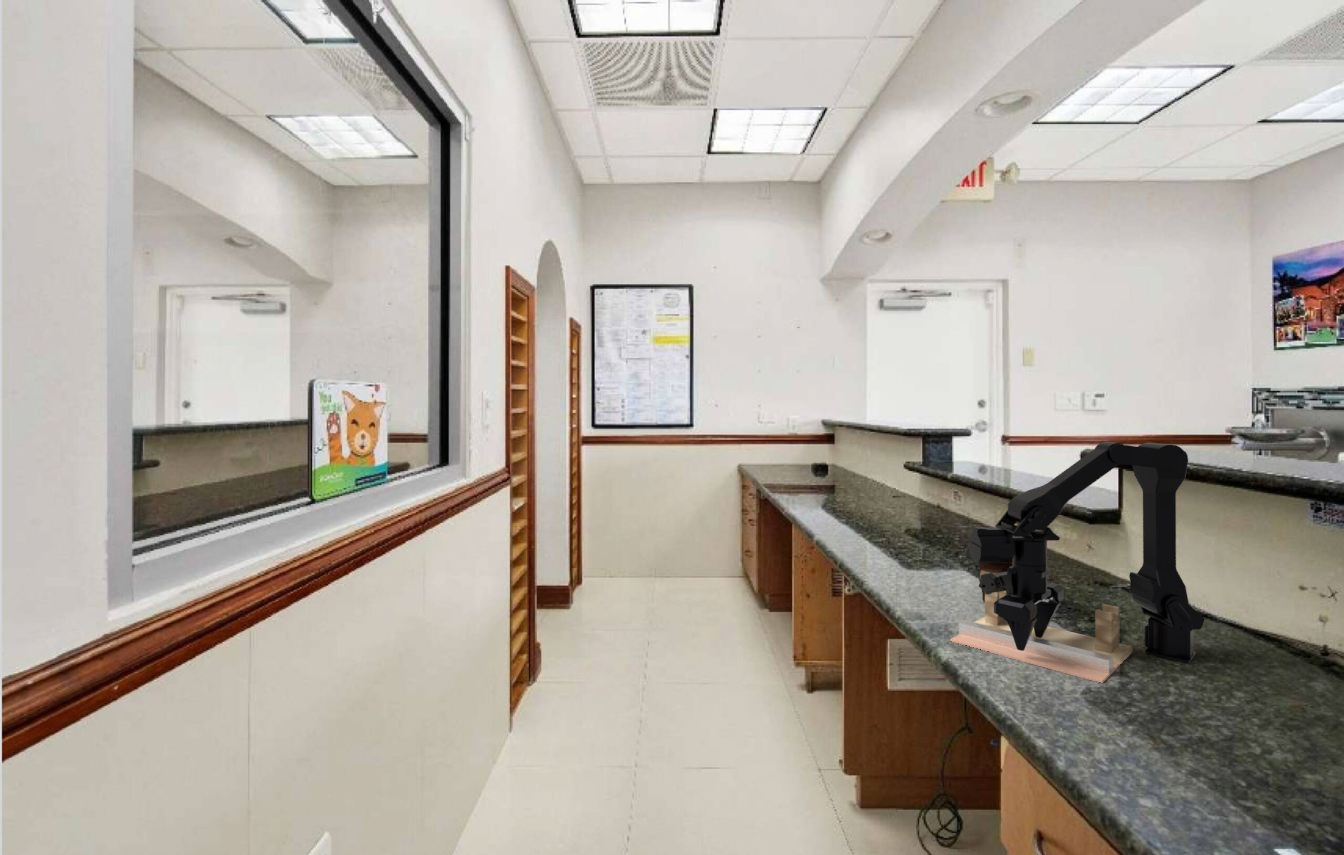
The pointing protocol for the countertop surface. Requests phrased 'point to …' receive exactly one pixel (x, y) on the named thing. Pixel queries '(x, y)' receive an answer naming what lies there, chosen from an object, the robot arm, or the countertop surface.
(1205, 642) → the countertop surface
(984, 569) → the coffee cup
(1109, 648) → the hook stand
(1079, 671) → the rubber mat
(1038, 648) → the steel rail
